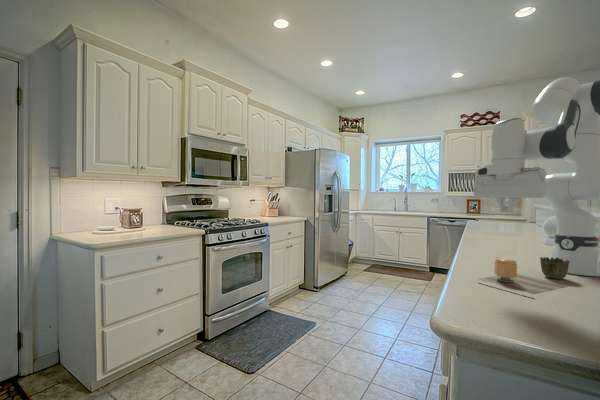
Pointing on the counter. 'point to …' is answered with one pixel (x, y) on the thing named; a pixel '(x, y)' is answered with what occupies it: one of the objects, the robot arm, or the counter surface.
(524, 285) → the board
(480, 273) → the counter surface
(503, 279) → the stud
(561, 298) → the counter surface
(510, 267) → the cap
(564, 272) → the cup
